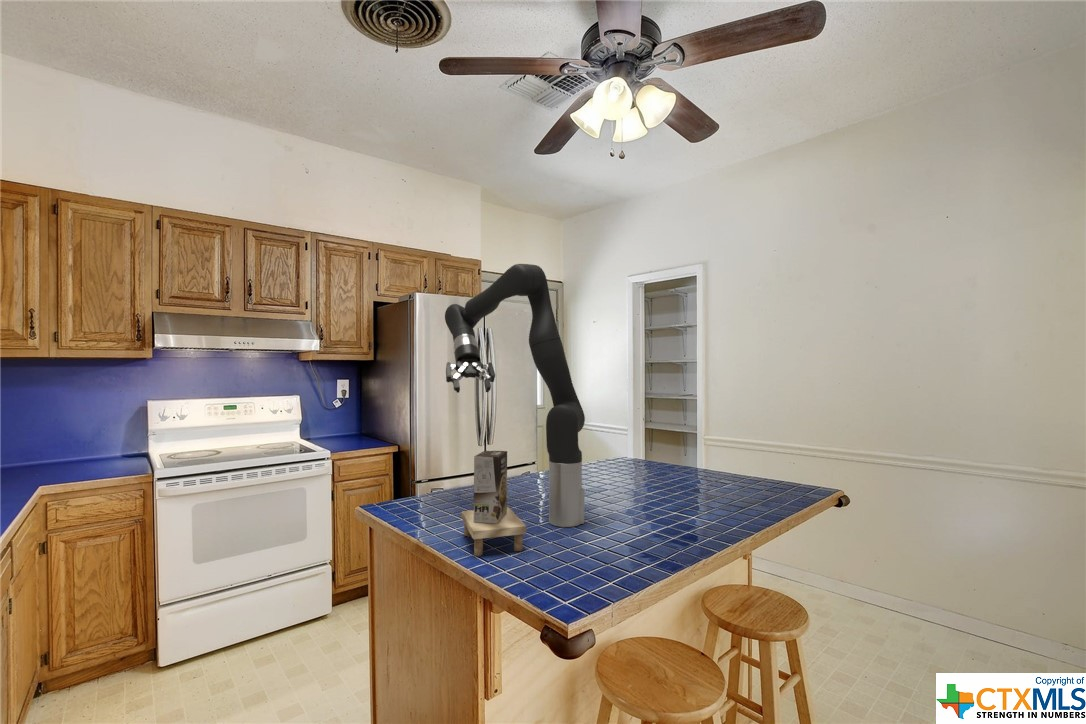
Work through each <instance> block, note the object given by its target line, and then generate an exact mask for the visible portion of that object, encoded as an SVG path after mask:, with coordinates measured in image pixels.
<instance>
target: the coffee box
mask: <svg viewBox="0 0 1086 724" xmlns="http://www.w3.org/2000/svg"><path fill="white" fill-rule="evenodd" d="M473 459H474V460H473V462H474V464H473V510H474V520H473V521H474V522H479V523H492V524H498V523H499V521H500V520H501V519H502V518H503V517H504V516H505V515H506V514H507V507H508V451H507V450H484V451H482V452H480V453H478V454H475V455H474V456H473Z"/></svg>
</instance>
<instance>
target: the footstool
mask: <svg viewBox="0 0 1086 724" xmlns="http://www.w3.org/2000/svg"><path fill="white" fill-rule="evenodd" d="M461 520H462V522H463V524H464V527H463V530H464V531H463V532H464V534H463V536H464V537H465V536H467V537H466V538H470V536H471V538H472V539H473V540H474V541H473V556H474V555H475V556H474V557H482V556H483V554H484V552H483V551H484V539H490V538H499V537H509V536H513V541H514V542H513V551H514V552H516V551H520V552H522V551H523V549H524V548H523V546H524V545H523V544H524V543H523V541H524V540H523V535H527V525H526V524H525V523H524V522H523V521H522V520H521V519H520V518H519V517H518V516H517V514H515V512H514V511H513V510H512V509H511V508H510V507H509V506H507V514H506V515H505V516H504V517H503V518H502V519H501V520H500V521H499V523H498V524H492V523H479V522H474V521H473V520H474V509H473V510H472V509H471V510H463V511H461ZM481 555H482V556H481Z"/></svg>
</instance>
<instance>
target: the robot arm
mask: <svg viewBox="0 0 1086 724" xmlns="http://www.w3.org/2000/svg"><path fill="white" fill-rule="evenodd" d="M548 285H549V284H548V280H547V276H546V273H545V271H544V270H543V268H542V267H541V266H540V265H536V264H531V263H530V264H529V263H515V264H513V265H512V266H510V267H509V268H508V269H507V270H505V271H504V272H503V273H502V274H501V275H500V277H498V278H497V279H496V280H495V281H494V282H493V283H492V284H491V285H490V286H488V287H487V288H486V289H485V290H482V291H481V292H480V293H478V294H476V295H475V296H474V297H471V298H470V299H468V301H467V302H466V303H465V306H462V305H460V304H458V303H453V304H450V305H449V306H448V307H447V308H446V310H445V312H444V321H445V323H446V326H447V328H448V330H449V332H450V333H451V336H452V339H453V341H452V342H453V354H454V359H455V364H452V363H451V362H450V361H447V362H446V366H445V378H446V379H445V381H446V382H447V383H452V384H453V390H454V392H456V394H457V393H459V394H460V390H461V389H460V388H461V386H460V381H461V379H463V377H464V378H466V379H468V378H473V379H475V378H477V379H478V380H479V381H482V382H483V383H484V388H485V389H484V390H485V393H489V392H490V391H491V388H492V383H494V382H495V378H496V373H495V369H494V366H493V363H492V362H488V363H487V364H483V362H482V361H481V360H482V359H481V355H480V350H479V345H478V341H477V339H476V333H475V330H474V328H475V327H476V326H477V324H478V323H479V322H480V321H481V320H482V319H483V318H485V317H486V316H488V315H490V314H492V313H493V312H495V311H496V310H497V308H498V307H499V306H500V303H502V302H503V301H505V300H506V299H509V298H511V297H515V296H519V297H527V298H528V301H529V305H530V308H531V315H532V317H531V324H530V328H529V334H528V335H529V336H528V344H529V345H528V346H529V349H530V352H531V356H532V359H533V362H534V364H535V367H536V369H537V371H538V373H539V374H540V376H541V377H542V380H543V381H544V383H545V385H546V386H547V388H548V391H549V393H550V397H551V401H552V408H550V410H549V411H548V413H547V415H546V420H545V434H546V437H545V438H546V450H547V453H548V523H549V524H550V525H552V526H555V527H560V528H561V527H562V528H573V527H577V526H580V525H581V524H585V497H586V496H585V494H586V492H585V488H583V482H582V481H583V463H582V462H583V452H582V450H581V449H580V446H579V433H580V432H581V431H582V430H583V428H584V425H585V421H586V416H585V413H584V410H583V407H582V405H581V402H580V400H579V397H578V395H577V392H576V390H575V387H574V384H573V380H572V376H571V371H570V368H569V365H568V361H567V357H566V352H565V349H564V346H563V345H564V344H563V342H562V339H561V336H560V332H559V329H558V327H557V326H558V325H557V323H556V317H555V315H554V310H553V306H552V301H551V295H550V291H549V286H548ZM454 370H455V371H456V373H455V374H454V375H452V372H453V371H454Z"/></svg>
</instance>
